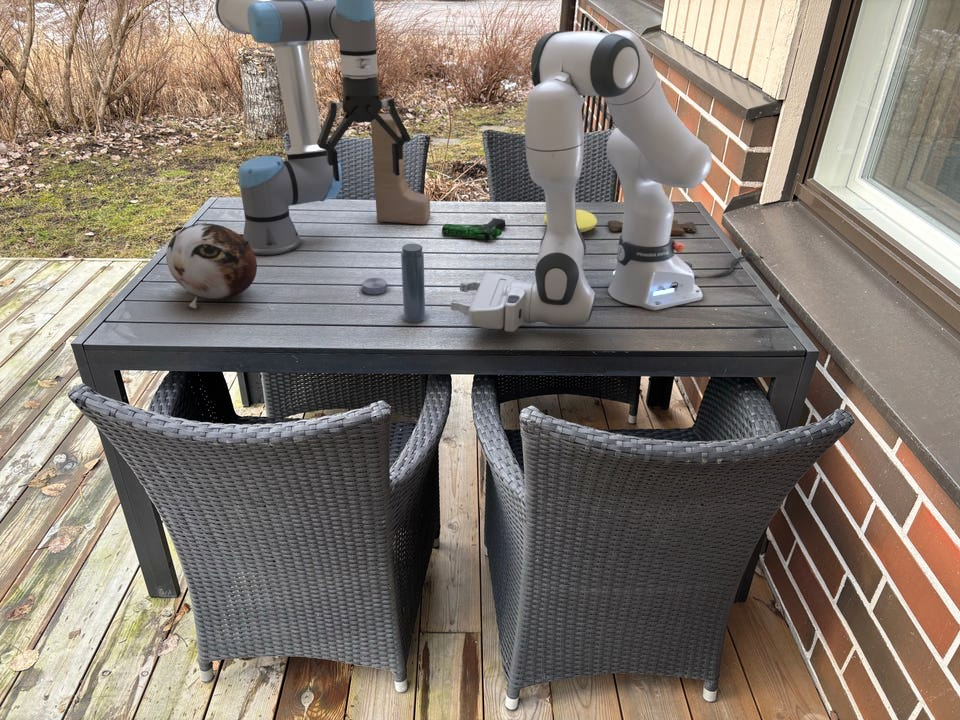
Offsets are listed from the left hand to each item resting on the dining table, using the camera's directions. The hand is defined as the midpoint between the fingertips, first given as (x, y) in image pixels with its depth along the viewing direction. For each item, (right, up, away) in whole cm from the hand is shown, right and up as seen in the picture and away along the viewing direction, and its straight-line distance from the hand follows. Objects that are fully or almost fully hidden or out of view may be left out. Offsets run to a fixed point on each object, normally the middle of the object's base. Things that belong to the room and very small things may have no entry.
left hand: (366, 176), depth 160 cm
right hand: (+20, -27, -3) cm, 34 cm away
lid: (0, -23, +13) cm, 26 cm away
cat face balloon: (-37, -26, +10) cm, 46 cm away
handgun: (+24, -4, +48) cm, 54 cm away
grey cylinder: (+11, -31, +2) cm, 33 cm away
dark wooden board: (+76, -2, +52) cm, 93 cm away
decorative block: (+2, +1, +56) cm, 56 cm away
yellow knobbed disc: (+52, -2, +51) cm, 73 cm away
